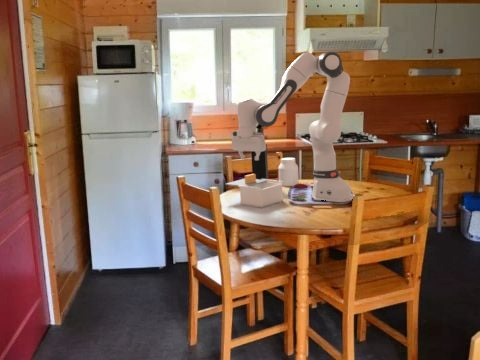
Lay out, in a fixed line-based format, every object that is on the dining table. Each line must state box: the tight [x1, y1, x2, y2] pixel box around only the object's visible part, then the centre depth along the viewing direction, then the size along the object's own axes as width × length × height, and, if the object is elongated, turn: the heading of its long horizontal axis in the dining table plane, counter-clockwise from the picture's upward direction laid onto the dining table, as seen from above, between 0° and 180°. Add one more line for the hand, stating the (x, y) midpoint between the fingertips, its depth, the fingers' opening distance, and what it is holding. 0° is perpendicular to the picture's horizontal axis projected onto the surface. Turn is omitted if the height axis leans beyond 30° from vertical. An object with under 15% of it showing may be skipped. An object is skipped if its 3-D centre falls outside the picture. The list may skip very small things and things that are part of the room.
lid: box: [225, 173, 267, 187], centre depth 244 cm, size 14×16×5 cm
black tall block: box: [250, 143, 269, 180], centre depth 269 cm, size 8×8×28 cm
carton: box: [237, 178, 284, 209], centre depth 239 cm, size 14×18×10 cm
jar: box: [277, 157, 300, 187], centre depth 278 cm, size 12×10×15 cm
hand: (249, 159), depth 240 cm, fingers open, 8 cm apart
